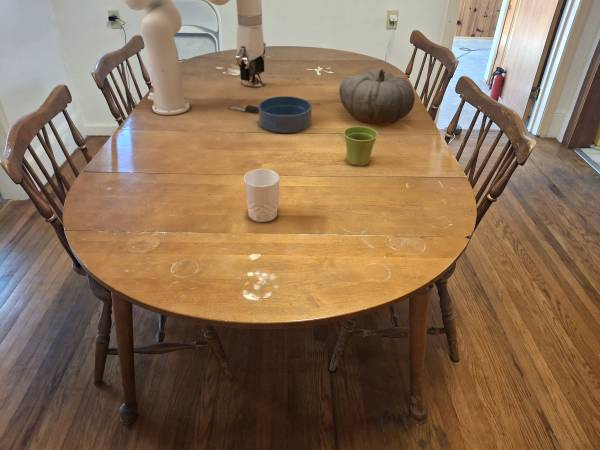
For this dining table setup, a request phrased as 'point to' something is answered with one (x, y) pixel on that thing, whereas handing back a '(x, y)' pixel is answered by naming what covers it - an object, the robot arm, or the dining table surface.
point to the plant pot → (359, 144)
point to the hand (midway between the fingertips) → (252, 75)
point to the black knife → (247, 108)
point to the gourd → (377, 97)
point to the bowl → (285, 114)
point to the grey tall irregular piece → (253, 76)
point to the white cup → (262, 194)
